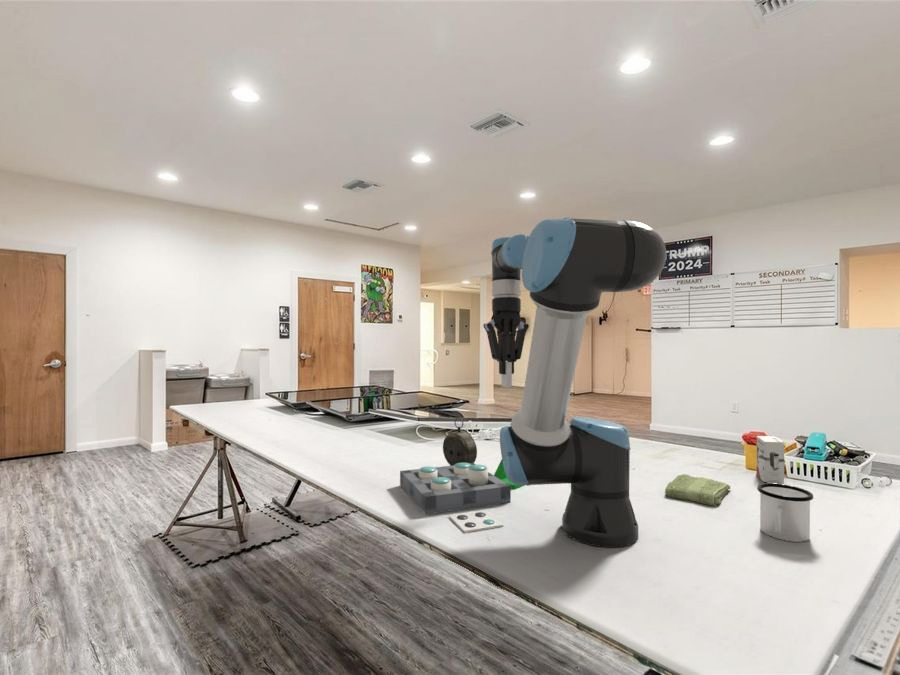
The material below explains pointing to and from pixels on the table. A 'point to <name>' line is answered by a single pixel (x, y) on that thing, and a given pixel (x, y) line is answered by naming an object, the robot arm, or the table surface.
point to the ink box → (770, 459)
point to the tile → (475, 521)
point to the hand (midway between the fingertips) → (506, 386)
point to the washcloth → (697, 489)
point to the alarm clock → (459, 447)
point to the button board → (453, 491)
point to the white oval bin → (785, 512)
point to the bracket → (504, 476)
